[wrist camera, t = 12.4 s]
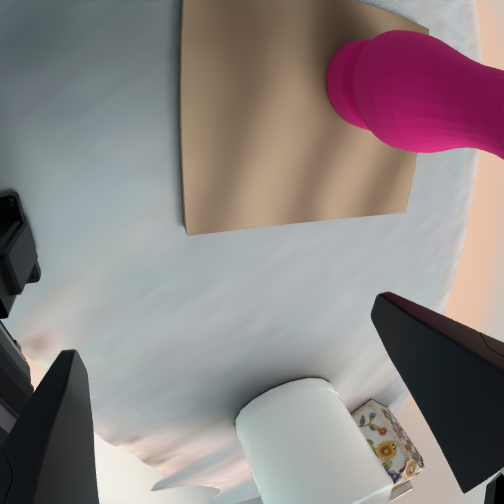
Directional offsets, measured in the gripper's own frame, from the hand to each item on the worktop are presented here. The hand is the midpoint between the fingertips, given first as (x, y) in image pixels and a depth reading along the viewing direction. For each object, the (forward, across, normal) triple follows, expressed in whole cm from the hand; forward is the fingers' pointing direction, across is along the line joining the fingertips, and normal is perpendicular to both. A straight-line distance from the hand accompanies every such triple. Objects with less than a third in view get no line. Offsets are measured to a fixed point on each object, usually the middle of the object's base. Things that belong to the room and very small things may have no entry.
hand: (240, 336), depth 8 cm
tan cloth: (+13, -9, -5) cm, 17 cm away
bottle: (+13, -10, +30) cm, 34 cm away
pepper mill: (+12, -12, -7) cm, 18 cm away
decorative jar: (+13, -26, +45) cm, 54 cm away
